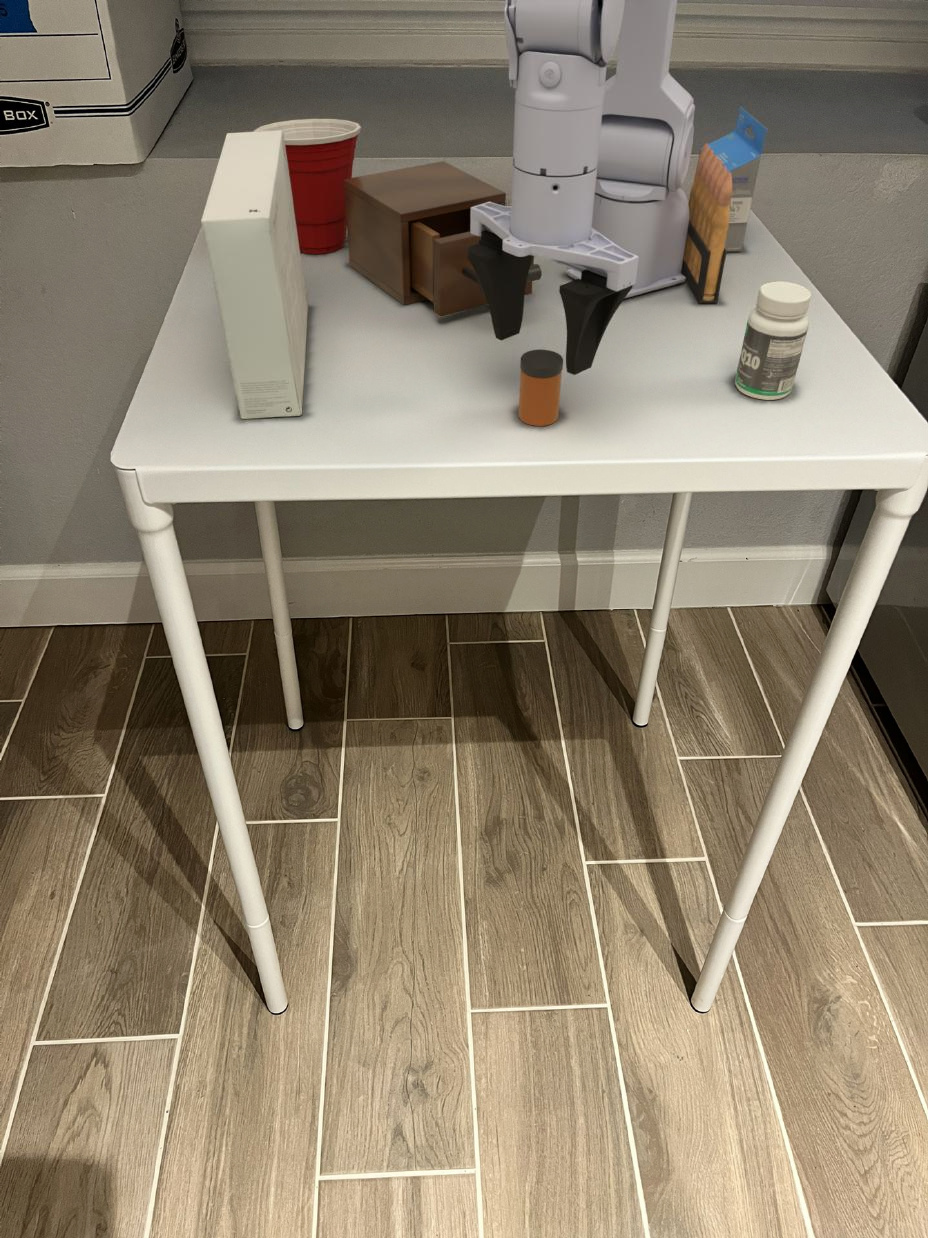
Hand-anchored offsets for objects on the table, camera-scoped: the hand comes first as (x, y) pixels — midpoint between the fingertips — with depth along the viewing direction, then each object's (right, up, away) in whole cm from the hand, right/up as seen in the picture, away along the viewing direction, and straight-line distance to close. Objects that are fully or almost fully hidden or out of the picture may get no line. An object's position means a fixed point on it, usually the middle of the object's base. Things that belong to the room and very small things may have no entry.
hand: (542, 352), depth 74 cm
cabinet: (-10, +15, +25) cm, 31 cm away
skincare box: (-23, +2, +11) cm, 25 cm away
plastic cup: (-22, +20, +31) cm, 43 cm away
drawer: (-5, +11, +19) cm, 23 cm away
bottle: (0, -4, +4) cm, 6 cm away
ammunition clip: (+18, +14, +24) cm, 33 cm away
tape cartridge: (+22, +22, +34) cm, 46 cm away
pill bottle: (+19, -1, +8) cm, 21 cm away
